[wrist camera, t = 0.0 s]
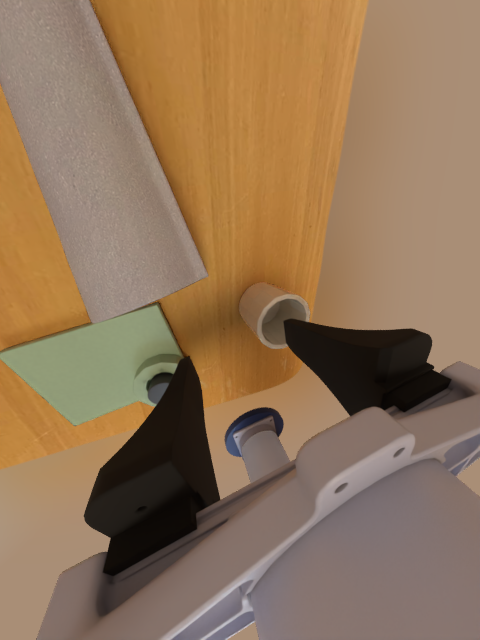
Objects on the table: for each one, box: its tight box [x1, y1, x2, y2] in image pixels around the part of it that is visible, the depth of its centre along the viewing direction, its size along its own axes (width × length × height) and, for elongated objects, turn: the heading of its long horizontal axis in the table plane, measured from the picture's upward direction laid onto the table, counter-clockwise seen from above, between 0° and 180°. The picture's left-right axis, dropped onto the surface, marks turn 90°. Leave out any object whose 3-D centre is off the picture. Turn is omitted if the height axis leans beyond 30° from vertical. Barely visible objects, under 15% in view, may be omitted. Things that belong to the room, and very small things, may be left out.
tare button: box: [148, 373, 174, 404], centre depth 18 cm, size 3×3×2 cm
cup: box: [239, 282, 310, 349], centre depth 19 cm, size 6×6×6 cm
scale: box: [0, 302, 184, 426], centre depth 17 cm, size 11×13×2 cm
